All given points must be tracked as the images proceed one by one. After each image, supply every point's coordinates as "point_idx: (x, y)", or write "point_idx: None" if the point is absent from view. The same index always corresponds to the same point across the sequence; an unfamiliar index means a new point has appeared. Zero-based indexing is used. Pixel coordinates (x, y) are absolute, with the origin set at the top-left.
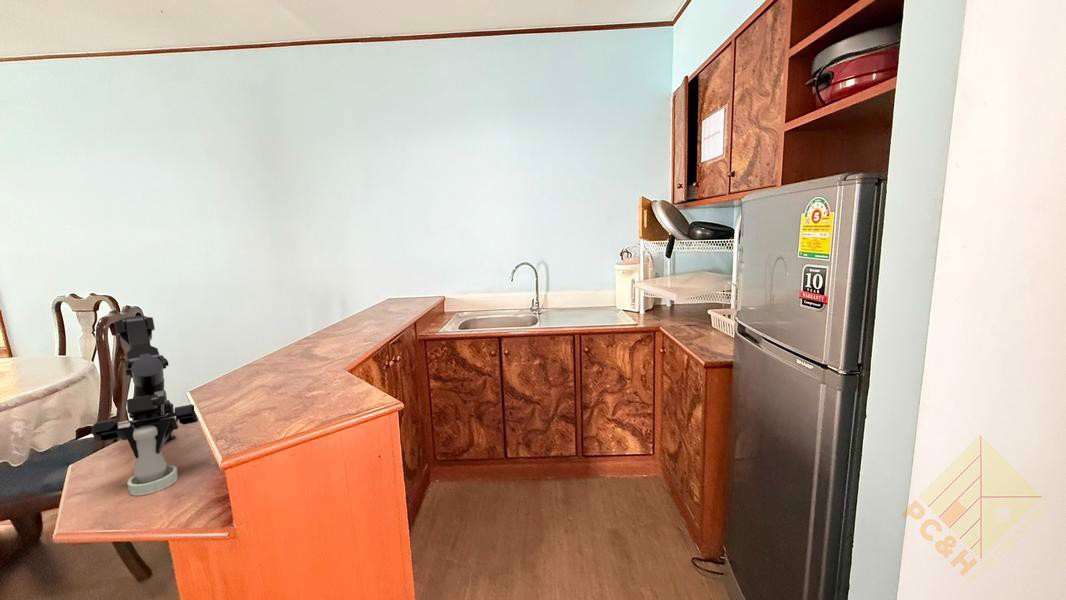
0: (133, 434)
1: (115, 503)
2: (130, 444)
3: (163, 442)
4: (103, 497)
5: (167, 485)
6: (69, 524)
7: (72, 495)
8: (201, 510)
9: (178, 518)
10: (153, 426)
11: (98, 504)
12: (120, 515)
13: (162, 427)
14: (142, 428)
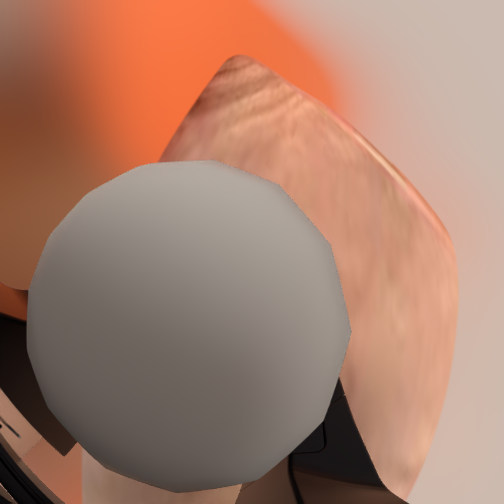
0: (345, 322)
1: (368, 306)
2: (340, 391)
3: None
4: (381, 390)
5: None
6: (452, 280)
7: (417, 473)
8: (234, 96)
9: (272, 100)
10: (37, 275)
11: (400, 347)
12: (365, 211)
13: (22, 304)
14: (155, 317)
